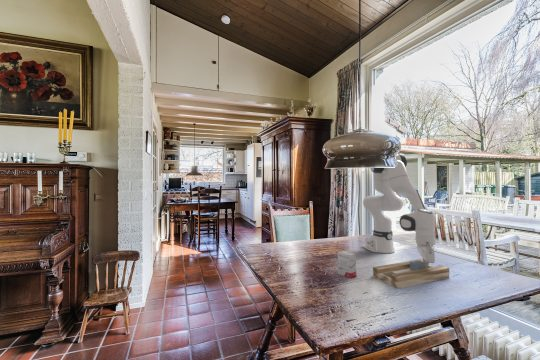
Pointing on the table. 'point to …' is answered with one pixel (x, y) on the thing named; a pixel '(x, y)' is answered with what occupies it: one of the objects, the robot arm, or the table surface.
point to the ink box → (346, 264)
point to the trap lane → (410, 282)
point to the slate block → (417, 265)
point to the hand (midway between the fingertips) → (426, 266)
